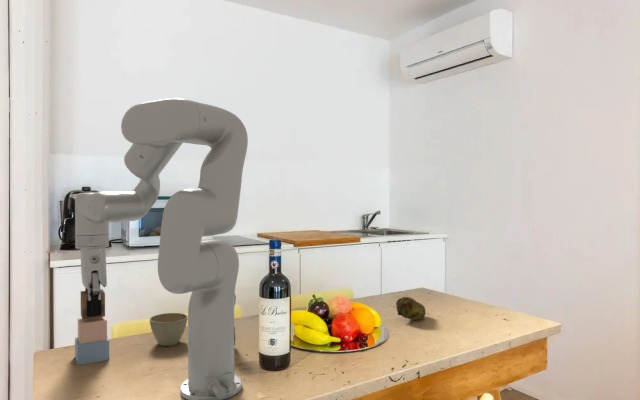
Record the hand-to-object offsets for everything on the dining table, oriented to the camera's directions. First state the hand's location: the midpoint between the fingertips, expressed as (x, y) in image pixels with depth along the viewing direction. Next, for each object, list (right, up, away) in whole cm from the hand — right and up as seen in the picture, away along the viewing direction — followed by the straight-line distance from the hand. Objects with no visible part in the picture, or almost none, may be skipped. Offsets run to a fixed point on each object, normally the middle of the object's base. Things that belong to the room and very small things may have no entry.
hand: (92, 312), depth 113 cm
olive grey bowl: (+15, -11, +11) cm, 22 cm away
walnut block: (0, -1, 0) cm, 1 cm away
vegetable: (+33, -11, +7) cm, 35 cm away
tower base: (0, -11, 0) cm, 11 cm away
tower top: (0, -6, 0) cm, 6 cm away
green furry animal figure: (+88, -11, +34) cm, 95 cm away
